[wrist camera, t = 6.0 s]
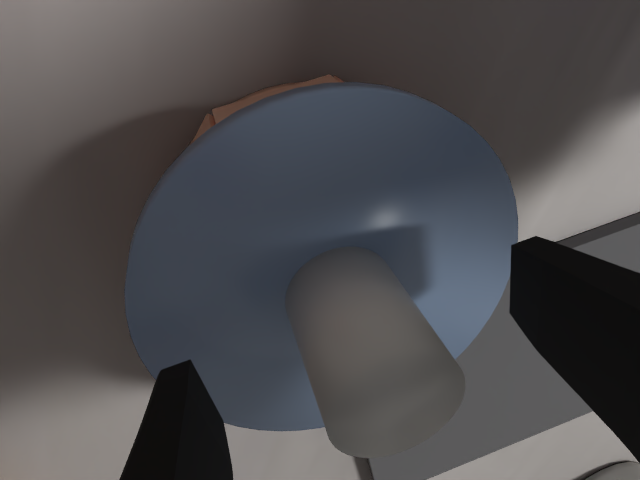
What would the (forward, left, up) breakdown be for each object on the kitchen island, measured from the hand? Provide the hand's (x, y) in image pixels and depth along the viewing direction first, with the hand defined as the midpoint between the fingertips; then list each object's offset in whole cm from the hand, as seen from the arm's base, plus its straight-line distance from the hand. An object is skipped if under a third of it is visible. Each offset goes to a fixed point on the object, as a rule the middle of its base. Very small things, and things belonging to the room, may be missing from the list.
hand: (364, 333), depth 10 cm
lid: (0, 0, -3) cm, 3 cm away
